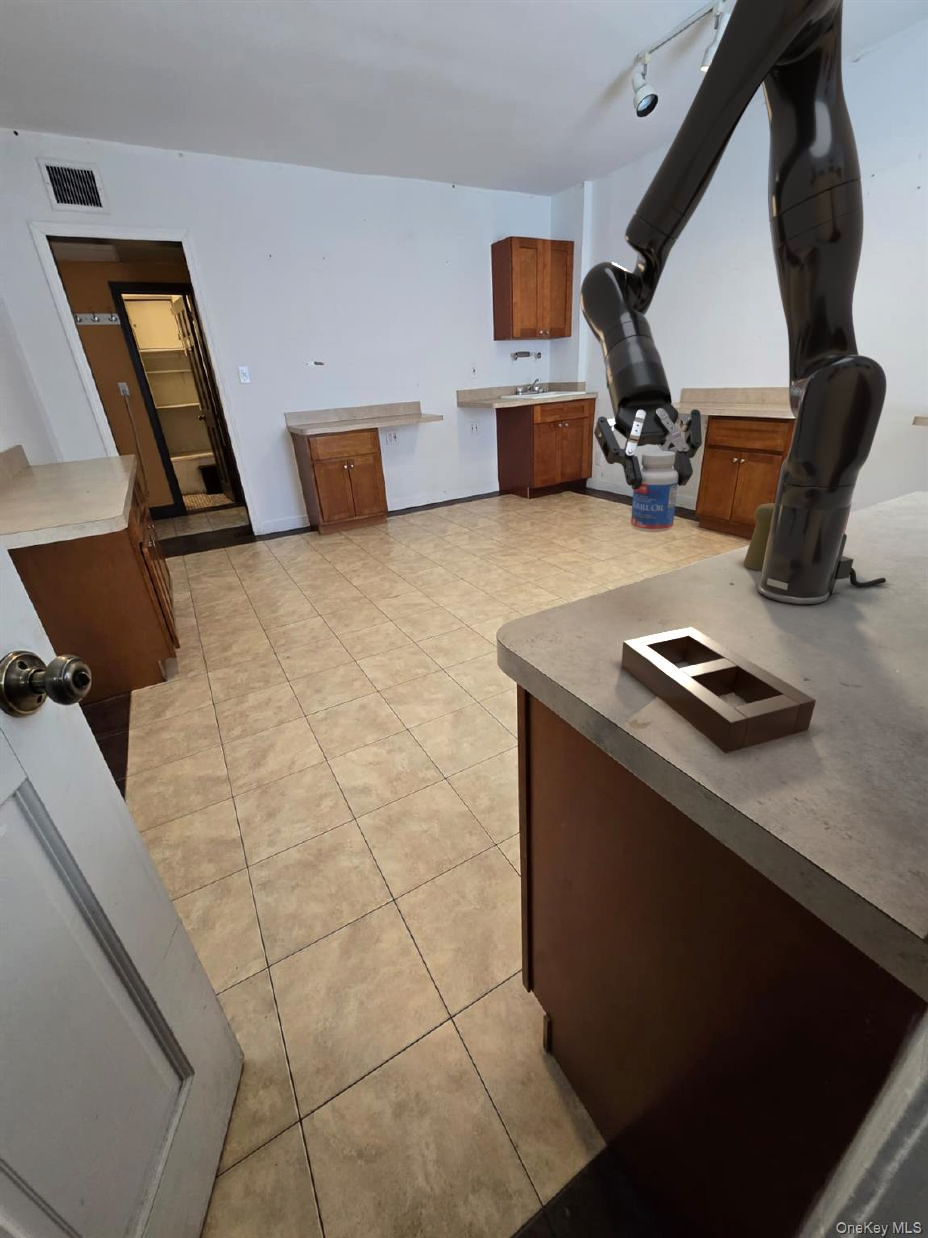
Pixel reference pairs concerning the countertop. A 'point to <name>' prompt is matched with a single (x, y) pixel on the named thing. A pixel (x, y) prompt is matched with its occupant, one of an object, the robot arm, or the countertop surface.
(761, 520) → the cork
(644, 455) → the pill bottle
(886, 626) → the countertop surface
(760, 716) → the socket block
